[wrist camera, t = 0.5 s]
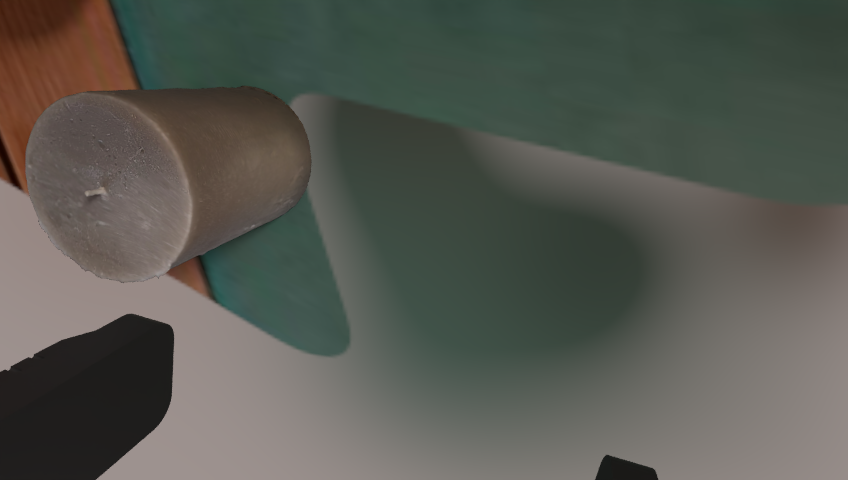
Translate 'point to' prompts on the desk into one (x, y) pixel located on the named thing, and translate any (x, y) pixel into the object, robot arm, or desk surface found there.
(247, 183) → the pillar candle
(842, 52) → the desk surface
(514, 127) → the desk surface
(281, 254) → the desk surface
